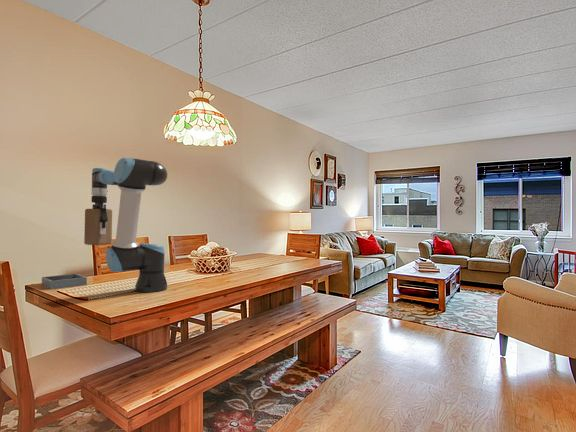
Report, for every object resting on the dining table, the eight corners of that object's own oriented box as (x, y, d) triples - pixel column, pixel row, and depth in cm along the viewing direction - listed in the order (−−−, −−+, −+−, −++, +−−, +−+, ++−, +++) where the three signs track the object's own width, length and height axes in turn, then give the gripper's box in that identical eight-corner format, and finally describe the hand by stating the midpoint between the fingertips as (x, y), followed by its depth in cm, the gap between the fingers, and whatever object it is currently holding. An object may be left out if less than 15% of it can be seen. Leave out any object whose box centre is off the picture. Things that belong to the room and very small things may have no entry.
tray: (86, 284, 174) (86, 277, 174) (50, 289, 162) (50, 281, 162) (76, 280, 185) (76, 273, 185) (41, 284, 172) (41, 277, 172)
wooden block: (98, 245, 179) (98, 208, 179) (83, 244, 181) (84, 208, 181) (112, 244, 188) (113, 209, 189) (98, 243, 191) (98, 209, 191)
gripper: (114, 195, 179) (114, 234, 179) (98, 196, 196) (97, 232, 196) (99, 194, 174) (99, 234, 174) (84, 196, 191) (83, 232, 191)
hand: (98, 233), depth 185 cm, fingers open, 13 cm apart
